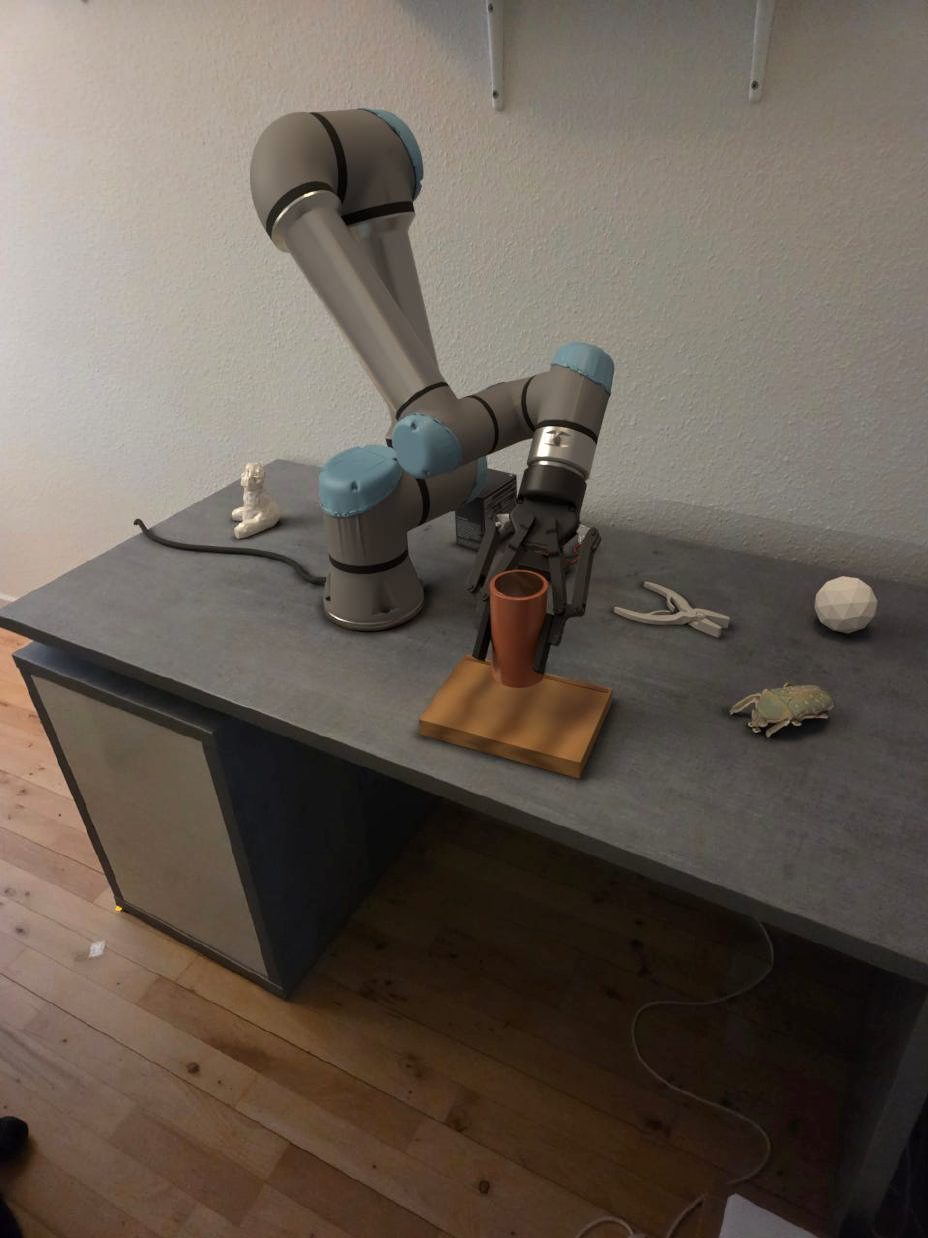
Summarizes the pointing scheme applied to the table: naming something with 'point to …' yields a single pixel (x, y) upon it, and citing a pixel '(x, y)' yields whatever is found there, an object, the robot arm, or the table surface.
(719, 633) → the pliers
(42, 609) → the table surface
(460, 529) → the small box
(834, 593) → the geometric ball
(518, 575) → the pen cup
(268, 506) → the sitting furry creature
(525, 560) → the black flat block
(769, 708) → the decorative insect model
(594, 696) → the oak board
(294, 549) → the table surface
